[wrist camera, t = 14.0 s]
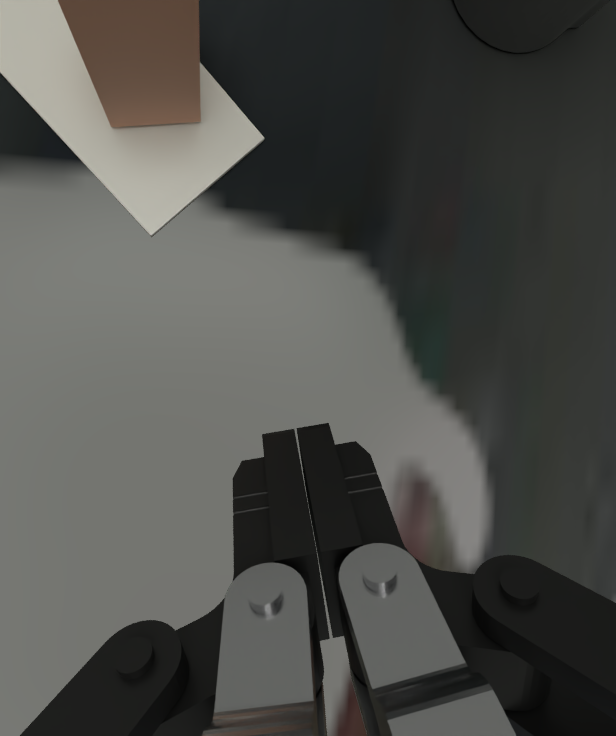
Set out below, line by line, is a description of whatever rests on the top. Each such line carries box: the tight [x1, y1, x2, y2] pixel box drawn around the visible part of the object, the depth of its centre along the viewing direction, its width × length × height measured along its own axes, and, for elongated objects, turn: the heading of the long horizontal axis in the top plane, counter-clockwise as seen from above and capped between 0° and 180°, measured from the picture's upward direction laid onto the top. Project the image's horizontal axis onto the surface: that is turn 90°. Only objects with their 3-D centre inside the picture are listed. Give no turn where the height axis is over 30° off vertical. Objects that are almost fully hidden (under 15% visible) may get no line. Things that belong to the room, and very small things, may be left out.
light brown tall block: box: [58, 0, 201, 127], centre depth 25 cm, size 5×5×12 cm
